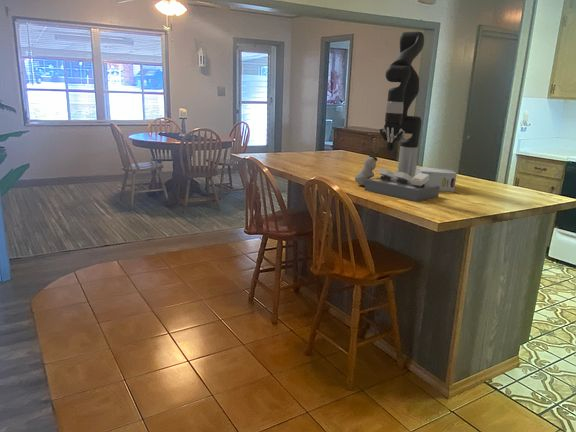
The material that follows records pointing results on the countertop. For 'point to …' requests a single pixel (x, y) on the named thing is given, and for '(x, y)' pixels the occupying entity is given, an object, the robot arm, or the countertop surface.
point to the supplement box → (440, 177)
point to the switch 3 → (419, 179)
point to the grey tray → (401, 188)
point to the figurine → (366, 170)
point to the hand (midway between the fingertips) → (390, 150)
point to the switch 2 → (402, 175)
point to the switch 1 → (385, 172)
